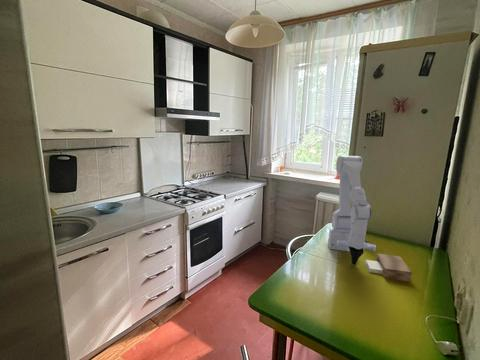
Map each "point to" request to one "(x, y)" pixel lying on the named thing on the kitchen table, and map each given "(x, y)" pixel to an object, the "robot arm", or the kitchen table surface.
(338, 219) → the robot arm
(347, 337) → the kitchen table surface
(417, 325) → the kitchen table surface
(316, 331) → the kitchen table surface
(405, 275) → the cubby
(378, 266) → the tile
